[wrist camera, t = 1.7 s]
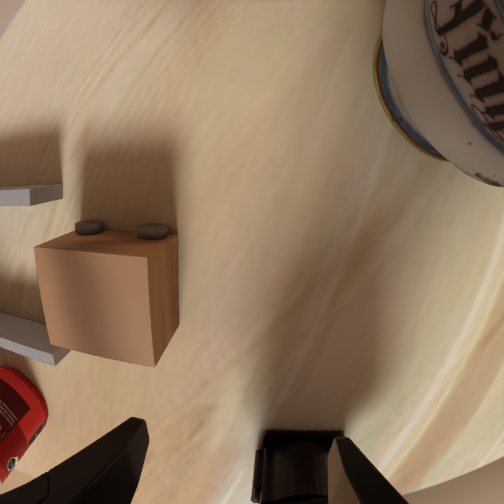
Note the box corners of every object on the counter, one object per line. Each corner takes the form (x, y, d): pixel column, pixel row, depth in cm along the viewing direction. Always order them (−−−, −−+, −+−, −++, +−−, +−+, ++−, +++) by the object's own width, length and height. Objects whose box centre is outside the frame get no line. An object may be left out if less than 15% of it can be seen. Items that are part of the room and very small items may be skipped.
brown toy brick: (177, 224, 19) (147, 244, 14) (179, 332, 21) (155, 376, 16) (79, 219, 19) (33, 236, 14) (89, 318, 21) (52, 352, 16)
